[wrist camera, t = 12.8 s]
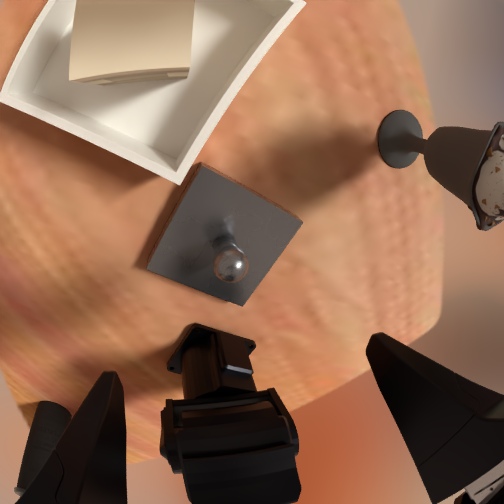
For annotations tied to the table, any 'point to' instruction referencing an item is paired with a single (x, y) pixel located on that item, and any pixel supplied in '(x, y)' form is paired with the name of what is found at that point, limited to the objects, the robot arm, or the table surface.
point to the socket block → (131, 40)
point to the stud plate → (222, 237)
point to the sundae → (452, 161)
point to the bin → (147, 83)
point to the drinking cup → (41, 441)
